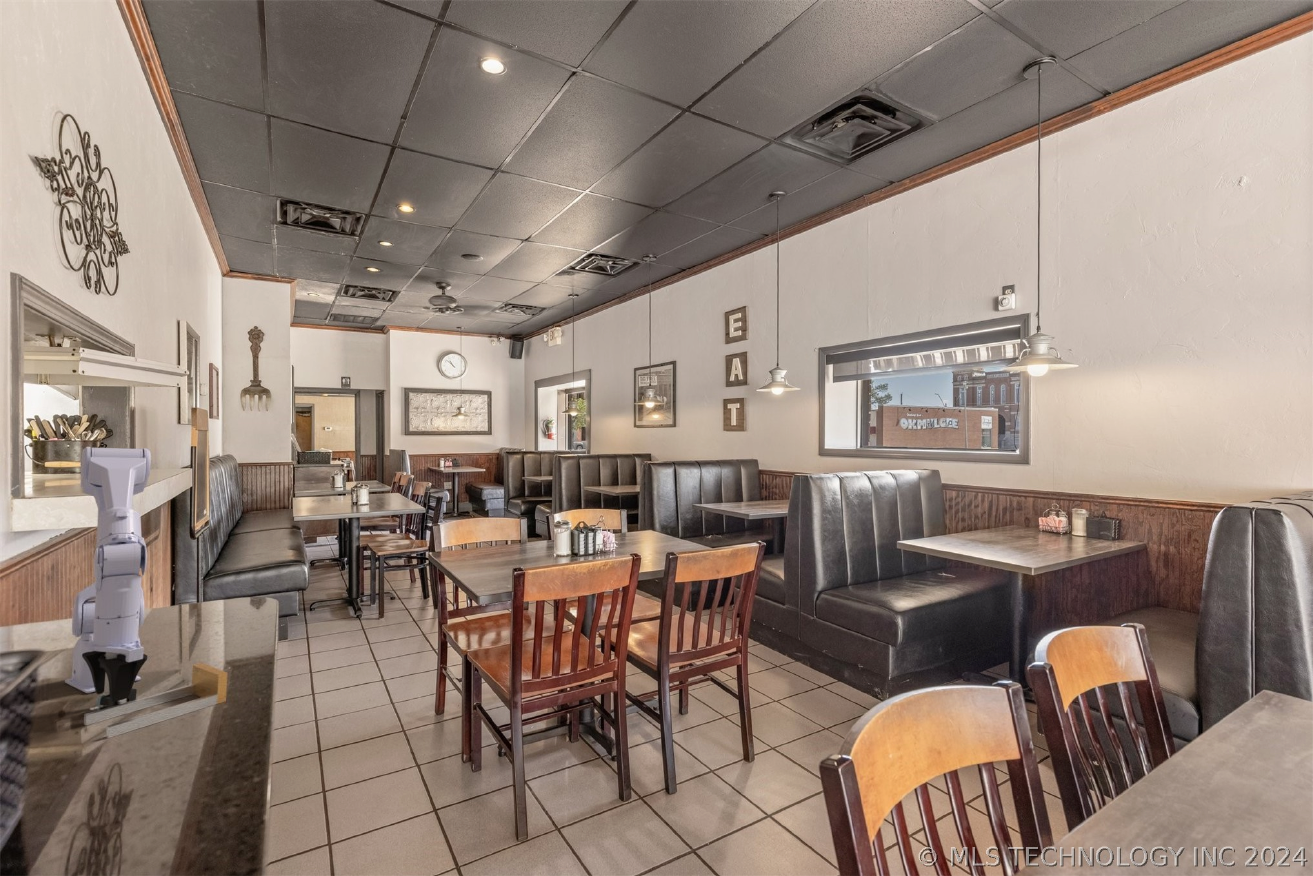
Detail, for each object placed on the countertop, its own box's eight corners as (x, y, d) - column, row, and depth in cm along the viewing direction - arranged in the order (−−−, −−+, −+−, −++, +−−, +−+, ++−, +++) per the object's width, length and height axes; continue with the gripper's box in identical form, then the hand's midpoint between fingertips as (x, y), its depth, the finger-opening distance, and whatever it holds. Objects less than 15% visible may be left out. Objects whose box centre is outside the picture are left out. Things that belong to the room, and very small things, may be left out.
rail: (83, 724, 97) (85, 692, 97) (200, 690, 111) (201, 663, 111) (108, 738, 93) (110, 705, 93) (225, 701, 107) (227, 672, 107)
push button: (102, 721, 98) (107, 659, 98) (76, 716, 99) (81, 655, 99) (144, 704, 105) (149, 646, 105) (119, 699, 106) (124, 642, 106)
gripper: (67, 613, 102) (62, 694, 102) (106, 627, 95) (101, 714, 95) (119, 604, 108) (115, 681, 108) (160, 617, 101) (155, 699, 101)
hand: (112, 695), depth 102 cm, fingers closed on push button, 5 cm apart
